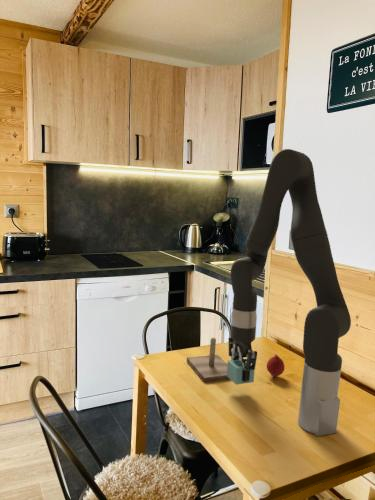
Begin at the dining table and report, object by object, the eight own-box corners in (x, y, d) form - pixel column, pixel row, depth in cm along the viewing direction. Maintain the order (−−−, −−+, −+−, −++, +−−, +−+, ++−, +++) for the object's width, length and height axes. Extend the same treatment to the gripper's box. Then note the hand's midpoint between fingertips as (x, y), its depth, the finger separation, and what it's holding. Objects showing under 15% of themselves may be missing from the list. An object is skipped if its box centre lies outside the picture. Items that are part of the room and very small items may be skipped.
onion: (282, 373, 139) (284, 351, 138) (284, 381, 133) (286, 358, 132) (265, 372, 139) (267, 350, 138) (266, 379, 134) (268, 356, 133)
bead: (253, 382, 122) (254, 366, 121) (235, 384, 120) (236, 368, 119) (243, 373, 127) (244, 358, 127) (226, 376, 125) (227, 360, 125)
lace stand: (237, 378, 134) (240, 345, 132) (204, 382, 129) (206, 348, 128) (217, 358, 148) (219, 328, 147) (186, 361, 144) (188, 330, 142)
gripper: (267, 329, 116) (263, 385, 118) (243, 315, 129) (239, 365, 132) (244, 332, 113) (240, 388, 116) (221, 317, 127) (219, 368, 129)
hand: (240, 376), depth 124 cm, fingers closed on bead, 6 cm apart
